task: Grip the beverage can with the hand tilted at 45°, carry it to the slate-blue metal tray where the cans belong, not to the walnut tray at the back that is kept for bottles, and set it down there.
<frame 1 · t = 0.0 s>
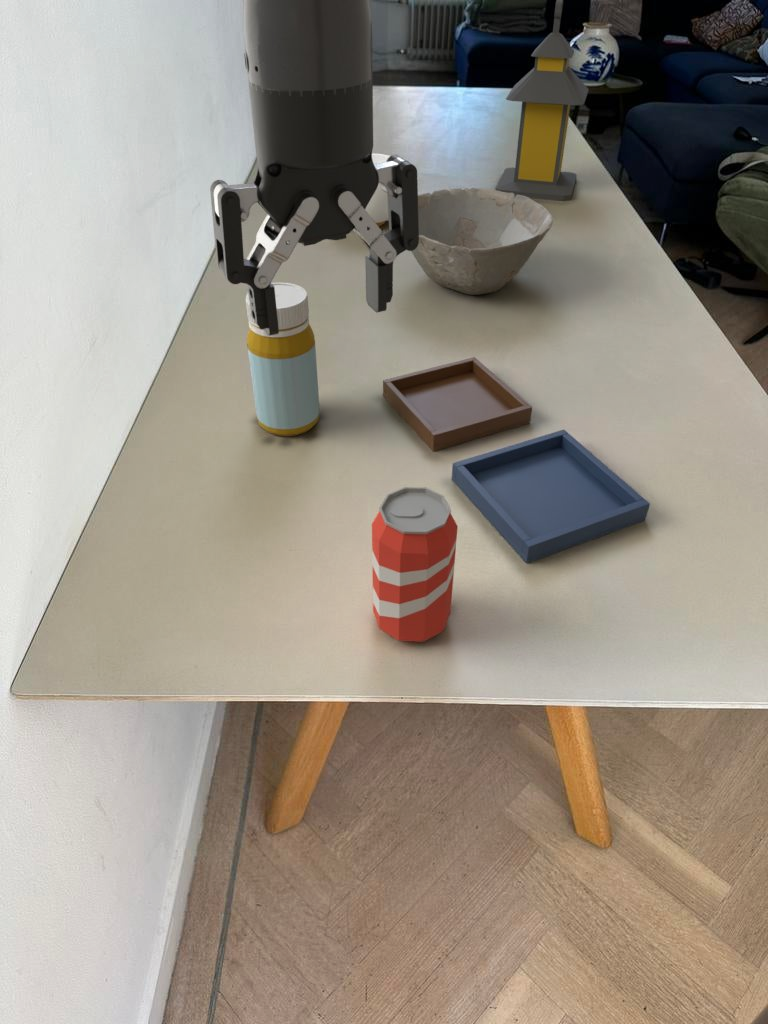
hand: (324, 318, 56), 22 cm above the table, tool pointing down, fingers open, 8 cm apart
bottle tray: (454, 408, 87), on the table
beverage can: (411, 619, 63), on the table
ceramic bowl: (468, 283, 113), on the table
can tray: (545, 499, 75), on the table
lantern: (536, 187, 146), on the table
cup: (368, 222, 132), on the table
bottle: (289, 422, 86), on the table
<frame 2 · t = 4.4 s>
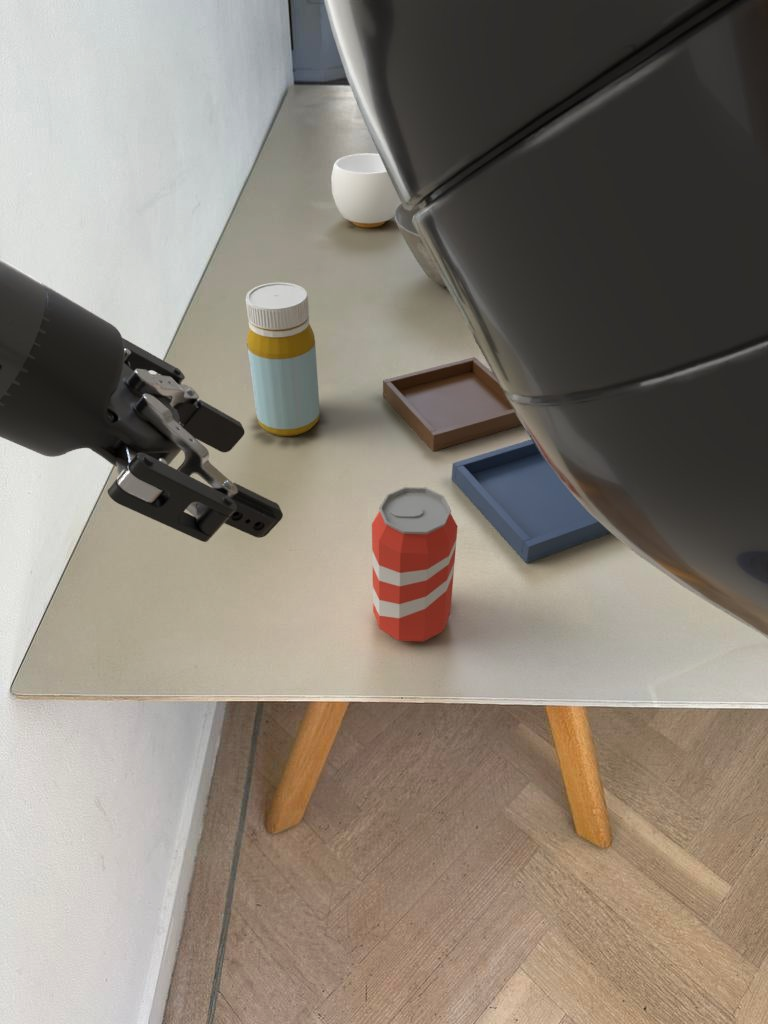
hand: (252, 478, 47), 19 cm above the table, tool tilted 45°, fingers open, 8 cm apart
nothing on the table moved.
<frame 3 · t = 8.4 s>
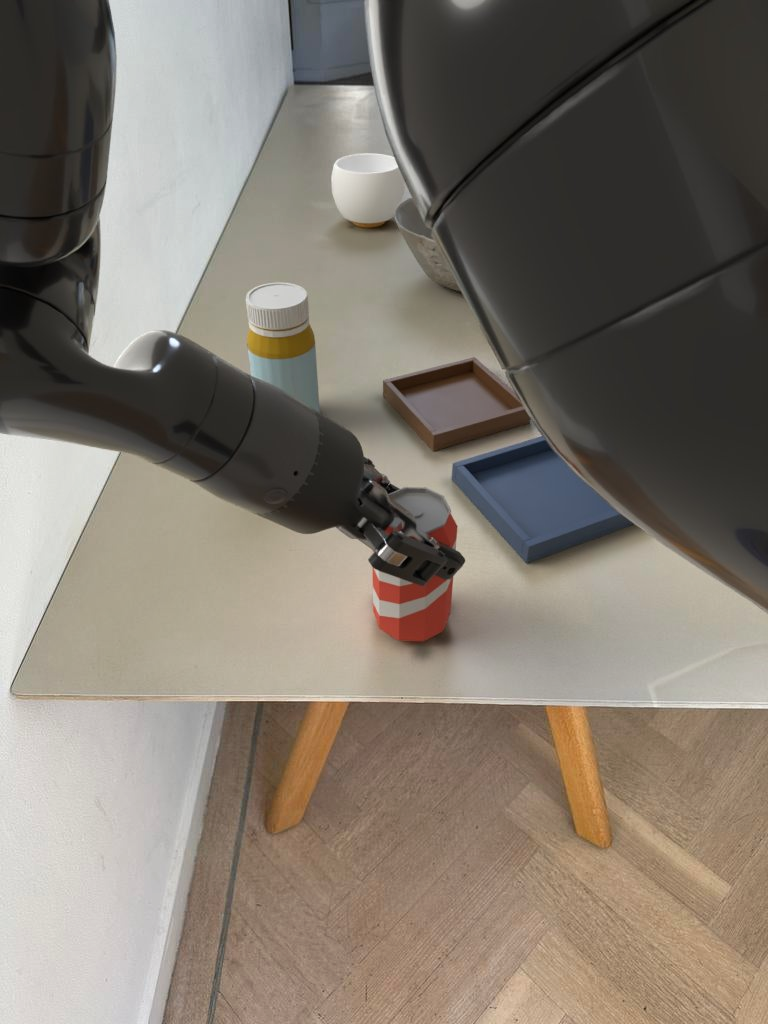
hand: (432, 538, 58), 8 cm above the table, tool tilted 45°, fingers closed on beverage can, 6 cm apart
beverage can: (411, 619, 63), on the table, touching gripper
everything else where it was.
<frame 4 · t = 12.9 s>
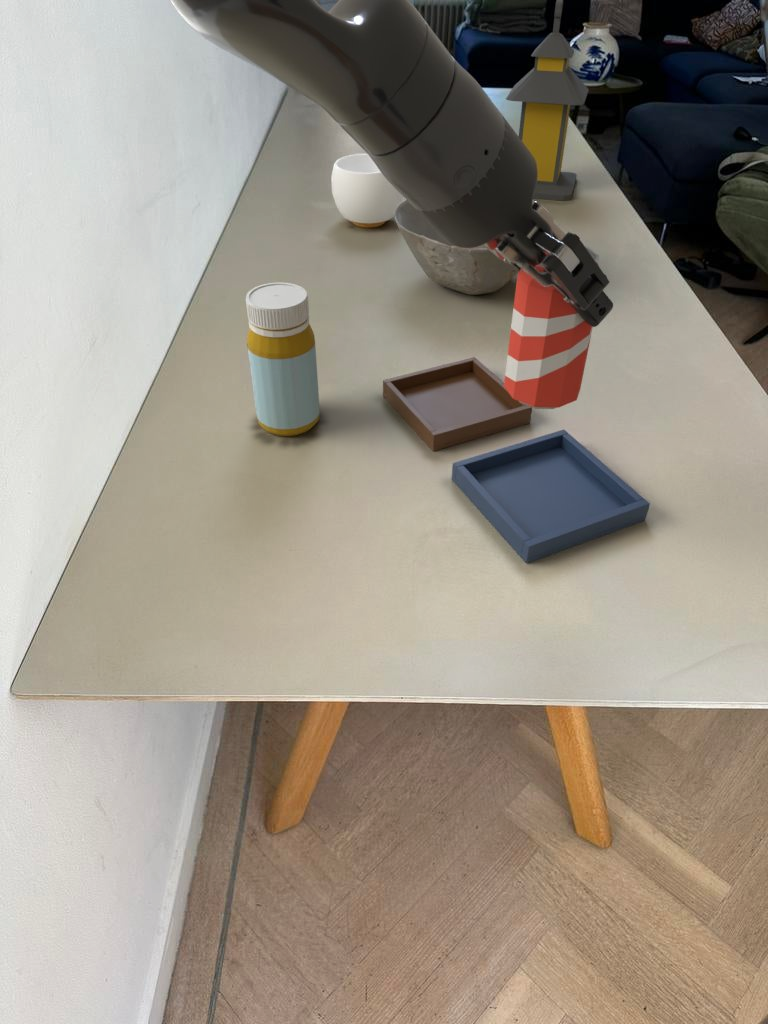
hand: (573, 297, 59), 22 cm above the table, tool tilted 45°, fingers closed on beverage can, 6 cm apart
beverage can: (540, 396, 64), point 14 cm above the table, touching gripper
everything else where it was.
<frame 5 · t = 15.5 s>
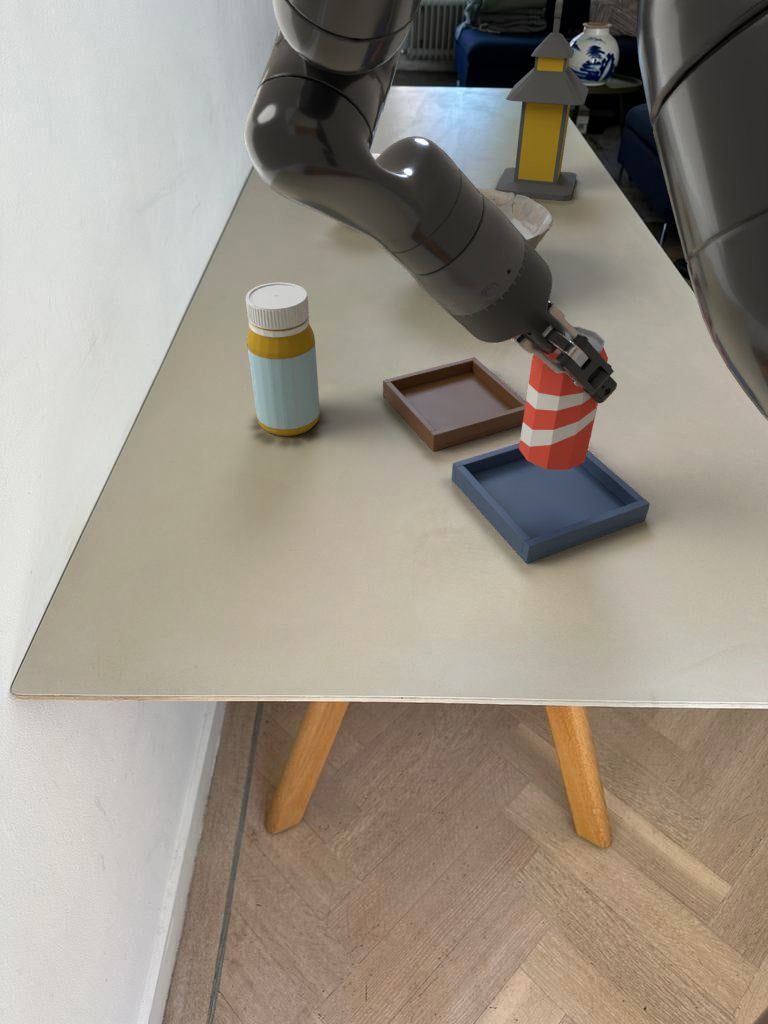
hand: (581, 373, 66), 14 cm above the table, tool tilted 45°, fingers closed on beverage can, 6 cm apart
beverage can: (551, 457, 72), point 5 cm above the table, touching gripper
everything else where it was.
when the fingers open (9 cm above the table, at t = 17.4 s): beverage can stays where it is, resting on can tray.
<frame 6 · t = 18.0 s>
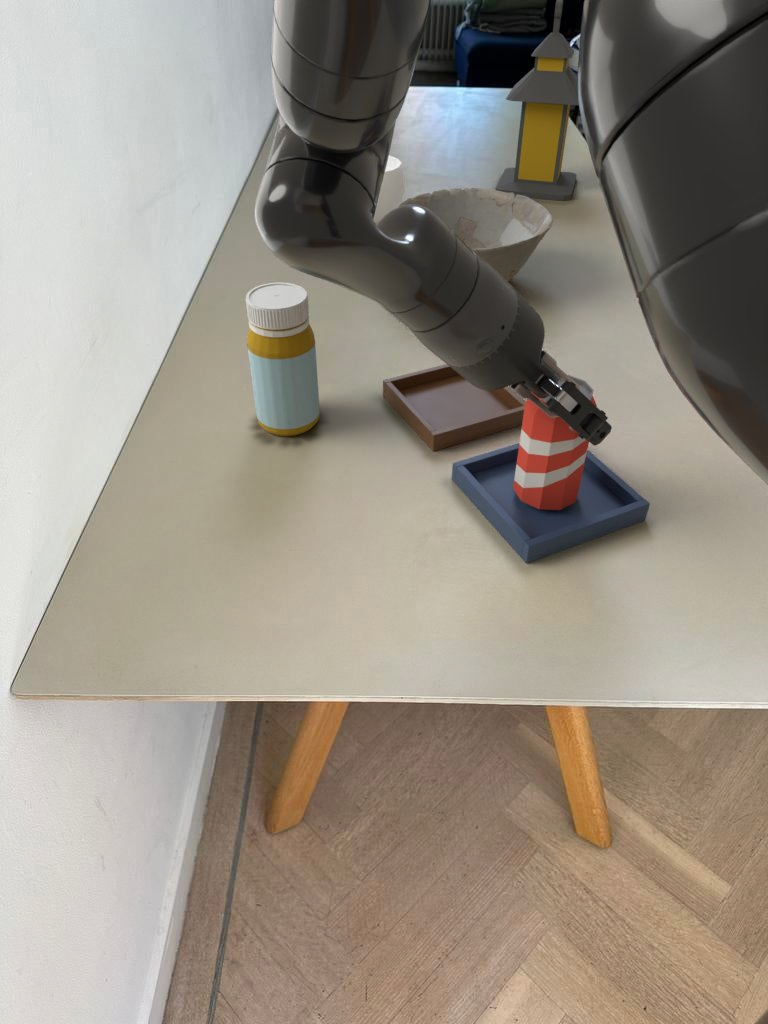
hand: (572, 411, 69), 10 cm above the table, tool tilted 45°, fingers open, 8 cm apart
beverage can: (544, 496, 75), resting on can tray
everything else where it was.
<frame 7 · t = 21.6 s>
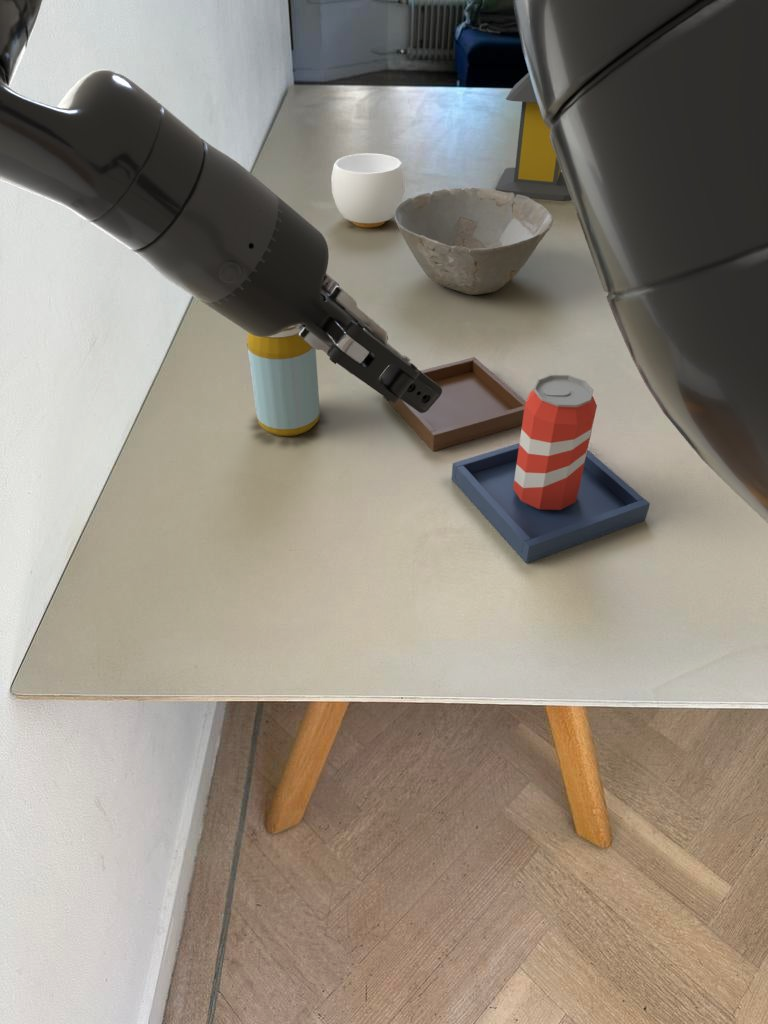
hand: (404, 372, 55), 20 cm above the table, tool tilted 45°, fingers open, 8 cm apart
nothing on the table moved.
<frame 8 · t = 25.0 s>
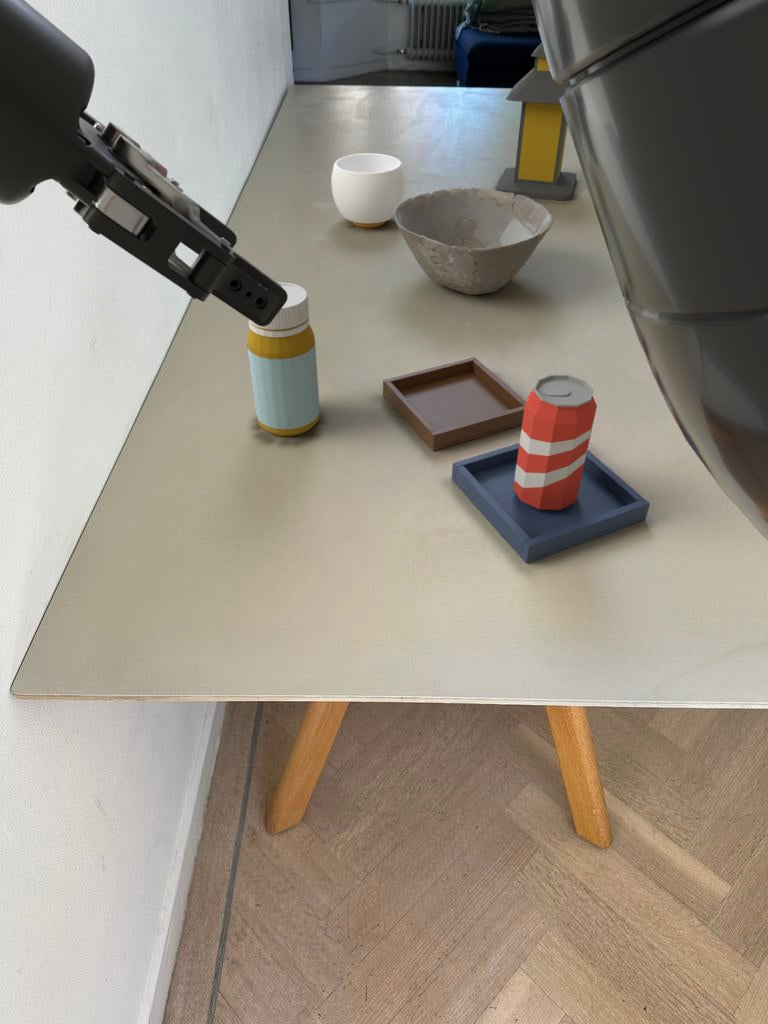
hand: (249, 278, 41), 31 cm above the table, tool tilted 45°, fingers open, 8 cm apart
nothing on the table moved.
at the end: beverage can inside the target area in the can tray (0.1 cm from its centre), point 0.4 cm above the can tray's base; beverage can tilted 0°; beverage can touching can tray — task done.
